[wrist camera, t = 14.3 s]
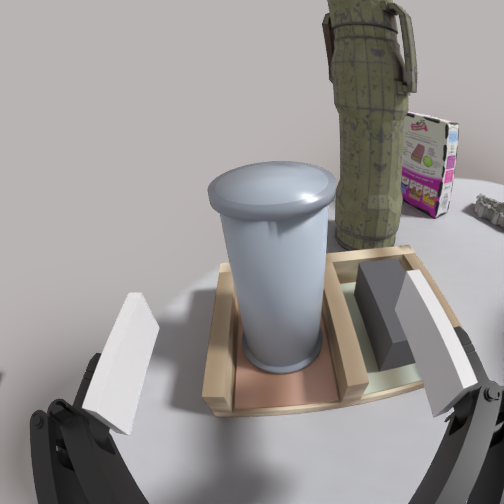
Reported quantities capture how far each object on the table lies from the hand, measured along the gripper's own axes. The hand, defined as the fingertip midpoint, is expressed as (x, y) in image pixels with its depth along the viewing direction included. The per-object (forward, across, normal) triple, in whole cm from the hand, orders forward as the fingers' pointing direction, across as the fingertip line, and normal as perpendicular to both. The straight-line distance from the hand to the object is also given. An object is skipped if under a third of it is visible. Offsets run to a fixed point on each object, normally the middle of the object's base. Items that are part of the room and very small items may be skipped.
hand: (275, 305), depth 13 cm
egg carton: (+24, +44, -11) cm, 52 cm away
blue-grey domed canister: (+5, 0, -10) cm, 11 cm away
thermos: (+21, +13, -11) cm, 27 cm away
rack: (+6, +5, -11) cm, 13 cm away
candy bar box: (+31, +28, -11) cm, 43 cm away
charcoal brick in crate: (+5, +10, -10) cm, 15 cm away
